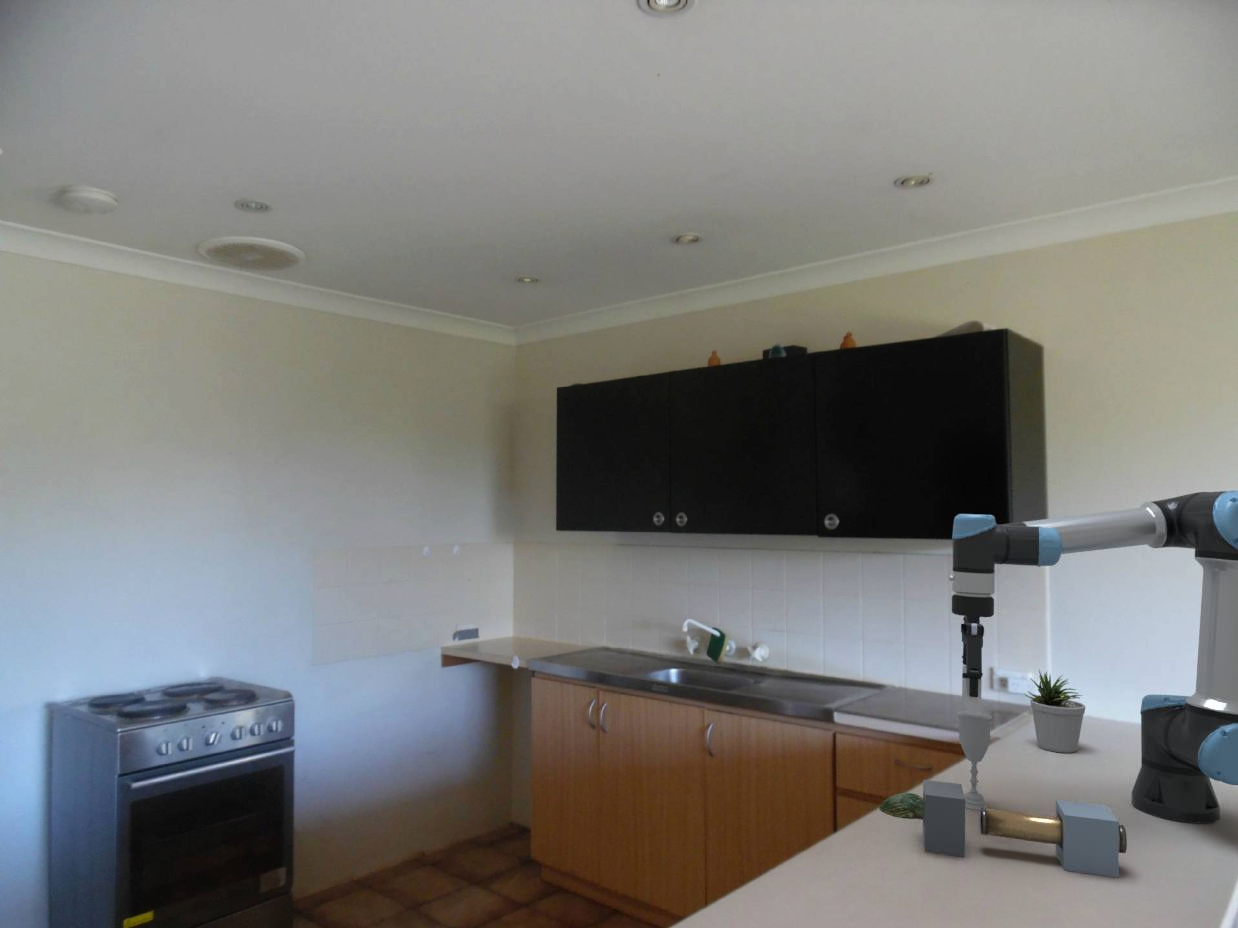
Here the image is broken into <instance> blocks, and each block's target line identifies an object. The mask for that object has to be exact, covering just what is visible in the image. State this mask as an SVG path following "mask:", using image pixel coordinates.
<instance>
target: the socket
mask: <svg viewBox="0 0 1238 928" xmlns="http://www.w3.org/2000/svg"><path fill="white" fill-rule="evenodd" d="M922 785H923V786H922V787H923V789H922V791H923V793H922V798H923V819H922V839H923V849H924V853H931V854H932V853H933V854H939V855H945V856H952V857H953V856H954V857H961V858H966V807H965V796H964V795H965V793H964V789H963V786H962V783H956V782H946V781H936V780H928V779H923V784H922Z"/></svg>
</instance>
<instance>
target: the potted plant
mask: <svg viewBox="0 0 1238 928" xmlns="http://www.w3.org/2000/svg"><path fill="white" fill-rule="evenodd" d="M1038 673H1039V675H1038V676H1039V679H1040V682H1039V684H1038V683H1037V682H1036V681H1035V680H1034V679H1032V678H1031V677H1029V679H1030V680H1031V681H1032V682H1033V683H1034V684H1035V686H1036V687H1037V688H1038V689H1037V691H1038V693H1039V694H1037V695H1036V694H1034V693H1032V692H1031V691H1028V690H1027V693H1028V694H1029V695H1031V696H1029V695H1027V694H1026V693H1024V695H1025V697H1028V698H1029V700H1030V708H1031V710H1032V715H1033V722H1034V728H1035V737H1036V743H1037V745H1038V746H1039V748H1041V749H1043V750H1045V751H1050V752H1054V753H1061V754H1062V753H1064V754H1070V753H1074V752H1077V750H1078V747H1079V741H1080V736H1081V731H1082V725H1083V719H1084V715H1085V711H1086V705H1085V704H1083V703H1081V702H1078V701H1075V699H1081V697H1082V695H1081V694H1080V695H1079V692H1078V693H1077V692H1075V691H1076V690H1077V689H1075V688H1070V687H1069V688H1064V689H1062V688H1063V686H1065V685H1067V684H1068V681H1069V678H1066V679H1064V680H1063V678H1062V677H1063V675H1064V674H1062V675H1061V676H1059V677H1058V678H1057V679H1056V681H1055V682H1054V683H1053V685H1052V677H1051V675H1052V674H1049V677H1048V671H1047V670H1046V672H1044V675H1042V673H1041V670H1040V669H1038ZM1060 681H1061V682H1060ZM1069 690H1070V691H1069ZM1071 690H1073V691H1071ZM1069 694H1072V695H1069ZM1032 696H1033V697H1032ZM1073 699H1074V700H1073Z"/></svg>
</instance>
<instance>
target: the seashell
mask: <svg viewBox="0 0 1238 928" xmlns="http://www.w3.org/2000/svg"><path fill="white" fill-rule="evenodd" d="M878 809H879V811H880V812H882V813H884V814H886V815H889V816H890V817H895V818H899V819H911V820H912V819H913V820H914V819H922V820H923V796H921V795H919V794H916V793H913V792H901V793H896V794H894V795H892V796H889V797H888V798H886V799H885V800H883V802H882V803H880V804H879V805H878Z"/></svg>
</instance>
